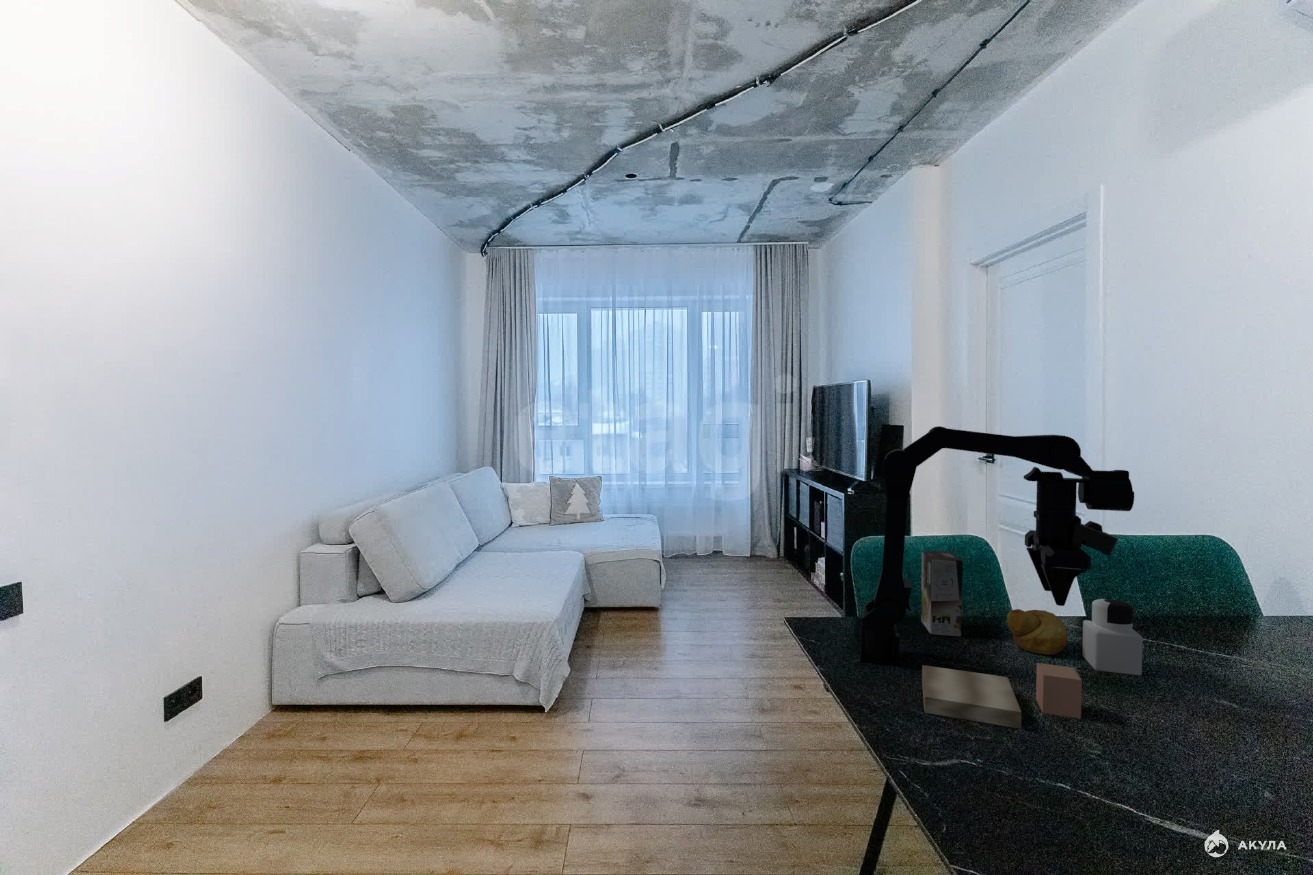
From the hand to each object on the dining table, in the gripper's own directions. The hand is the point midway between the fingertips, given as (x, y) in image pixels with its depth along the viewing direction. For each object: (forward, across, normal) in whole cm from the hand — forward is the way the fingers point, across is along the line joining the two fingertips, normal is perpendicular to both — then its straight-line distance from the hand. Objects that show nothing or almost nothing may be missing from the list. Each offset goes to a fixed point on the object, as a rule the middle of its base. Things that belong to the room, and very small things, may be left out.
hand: (1053, 597), depth 105 cm
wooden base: (+15, -14, +14) cm, 25 cm away
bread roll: (+15, +18, -2) cm, 24 cm away
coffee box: (+15, +22, +16) cm, 31 cm away
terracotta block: (+15, -11, +1) cm, 18 cm away
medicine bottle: (+15, +12, -12) cm, 22 cm away
